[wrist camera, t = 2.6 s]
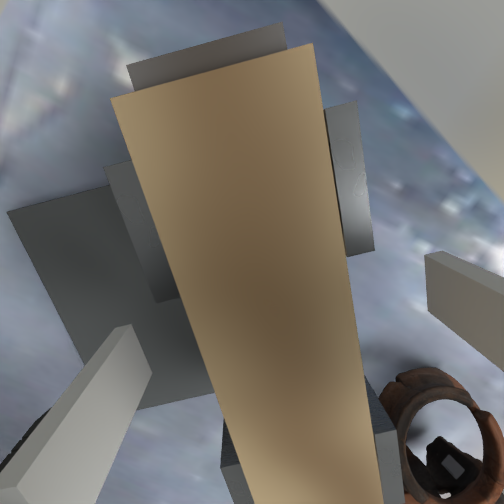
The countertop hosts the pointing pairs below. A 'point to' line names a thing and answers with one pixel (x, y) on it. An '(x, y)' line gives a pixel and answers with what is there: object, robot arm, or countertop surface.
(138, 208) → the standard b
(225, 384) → the oak rail
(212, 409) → the countertop surface
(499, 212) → the countertop surface
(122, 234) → the mat
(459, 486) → the pottery mug
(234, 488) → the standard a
